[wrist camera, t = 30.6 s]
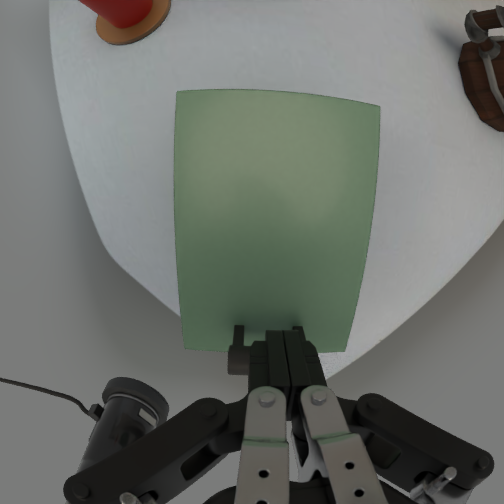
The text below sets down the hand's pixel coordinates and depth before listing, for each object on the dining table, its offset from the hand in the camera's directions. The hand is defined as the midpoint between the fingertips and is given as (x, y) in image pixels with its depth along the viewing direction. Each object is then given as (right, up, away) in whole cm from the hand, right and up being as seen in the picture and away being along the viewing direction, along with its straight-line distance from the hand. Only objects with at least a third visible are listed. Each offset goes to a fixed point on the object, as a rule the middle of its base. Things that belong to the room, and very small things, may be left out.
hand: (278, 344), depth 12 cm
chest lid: (0, +5, +5) cm, 7 cm away
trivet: (-13, +28, +5) cm, 31 cm away
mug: (+26, +25, +6) cm, 37 cm away
